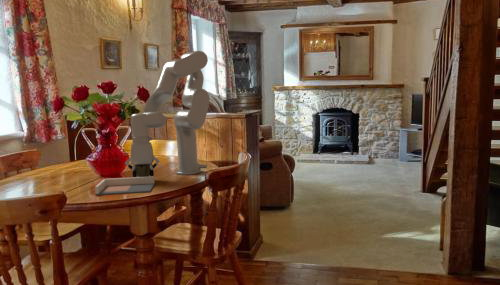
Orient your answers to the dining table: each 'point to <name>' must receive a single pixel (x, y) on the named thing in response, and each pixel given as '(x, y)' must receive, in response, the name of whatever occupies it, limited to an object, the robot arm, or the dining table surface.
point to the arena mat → (127, 189)
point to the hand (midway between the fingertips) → (143, 177)
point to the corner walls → (123, 182)
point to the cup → (142, 170)
